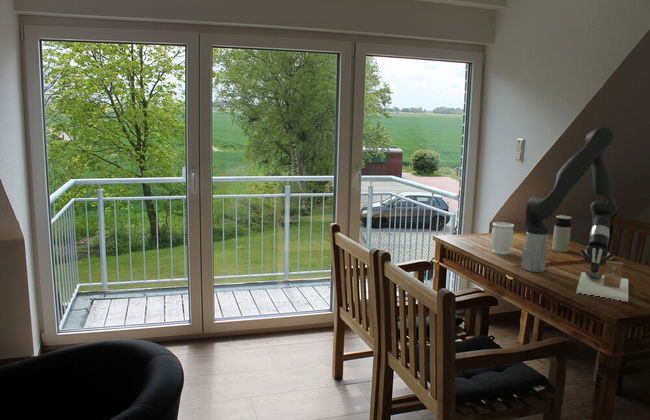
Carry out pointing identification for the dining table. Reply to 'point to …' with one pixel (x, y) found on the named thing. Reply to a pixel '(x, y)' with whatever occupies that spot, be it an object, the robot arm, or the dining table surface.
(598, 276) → the tile one dot
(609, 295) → the board
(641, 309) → the dining table surface
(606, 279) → the tile two dots
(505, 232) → the jar
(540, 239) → the robot arm
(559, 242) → the travel mug
